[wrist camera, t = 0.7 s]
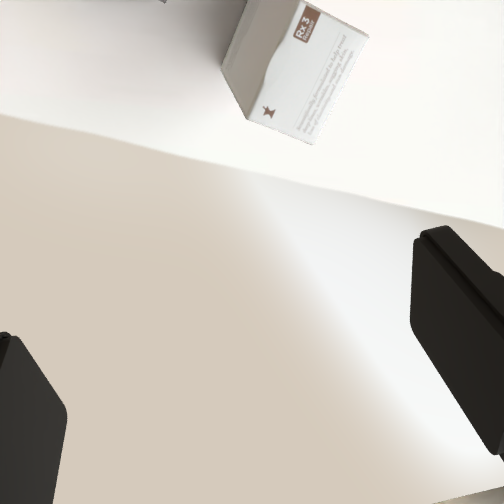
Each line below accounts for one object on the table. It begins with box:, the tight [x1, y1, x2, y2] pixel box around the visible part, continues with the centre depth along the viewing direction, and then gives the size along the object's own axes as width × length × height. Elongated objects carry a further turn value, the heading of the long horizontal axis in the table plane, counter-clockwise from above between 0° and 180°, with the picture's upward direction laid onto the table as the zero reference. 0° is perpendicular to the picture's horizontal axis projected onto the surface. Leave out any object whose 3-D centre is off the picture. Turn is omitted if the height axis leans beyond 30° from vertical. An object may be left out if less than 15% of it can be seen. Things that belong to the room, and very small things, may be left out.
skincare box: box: [221, 0, 369, 145], centre depth 28 cm, size 6×4×12 cm
